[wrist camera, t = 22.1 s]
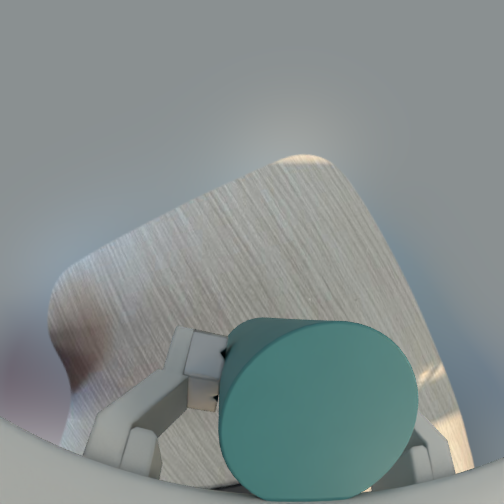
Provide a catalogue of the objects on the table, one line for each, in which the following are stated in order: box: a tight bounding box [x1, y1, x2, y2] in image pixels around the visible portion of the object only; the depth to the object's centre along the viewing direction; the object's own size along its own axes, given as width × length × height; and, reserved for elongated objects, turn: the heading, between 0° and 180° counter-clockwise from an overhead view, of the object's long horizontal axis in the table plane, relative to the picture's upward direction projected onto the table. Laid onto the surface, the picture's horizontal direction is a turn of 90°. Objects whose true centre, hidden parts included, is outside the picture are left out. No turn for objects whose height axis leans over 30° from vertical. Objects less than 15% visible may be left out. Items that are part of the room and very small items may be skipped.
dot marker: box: [218, 318, 418, 502], centre depth 9 cm, size 4×4×10 cm
